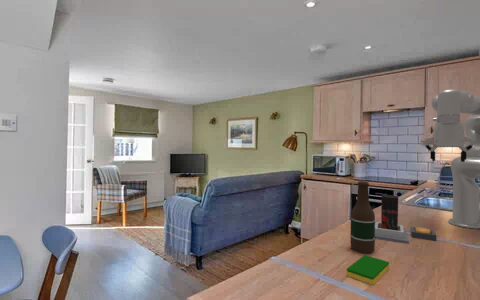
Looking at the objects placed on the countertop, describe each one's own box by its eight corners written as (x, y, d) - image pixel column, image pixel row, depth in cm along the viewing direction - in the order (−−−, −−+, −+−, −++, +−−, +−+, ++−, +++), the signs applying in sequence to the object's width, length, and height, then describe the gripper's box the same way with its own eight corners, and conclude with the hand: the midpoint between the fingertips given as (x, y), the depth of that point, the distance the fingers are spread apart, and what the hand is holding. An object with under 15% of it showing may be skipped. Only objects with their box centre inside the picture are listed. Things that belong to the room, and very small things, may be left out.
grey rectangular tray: (372, 228, 118) (372, 220, 118) (406, 233, 111) (406, 224, 111) (369, 237, 106) (370, 228, 106) (408, 243, 99) (408, 234, 99)
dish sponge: (345, 277, 75) (346, 268, 75) (364, 262, 84) (364, 254, 84) (372, 286, 70) (372, 277, 70) (389, 269, 79) (389, 261, 79)
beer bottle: (372, 247, 96) (373, 180, 95) (376, 255, 88) (377, 183, 88) (349, 244, 98) (350, 179, 98) (351, 252, 91) (351, 182, 90)
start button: (414, 231, 111) (415, 226, 111) (429, 233, 109) (429, 228, 109) (415, 235, 107) (416, 230, 107) (431, 237, 104) (431, 232, 104)
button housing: (410, 231, 113) (410, 226, 113) (433, 234, 109) (433, 229, 109) (411, 237, 106) (411, 231, 106) (436, 240, 102) (436, 235, 102)
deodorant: (399, 235, 105) (400, 198, 105) (383, 234, 106) (383, 197, 106) (394, 231, 111) (395, 195, 110) (379, 229, 112) (379, 194, 112)
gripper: (424, 120, 111) (423, 161, 112) (478, 118, 103) (477, 162, 103) (422, 121, 118) (421, 160, 118) (473, 120, 109) (472, 161, 110)
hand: (447, 161), depth 111 cm, fingers open, 9 cm apart
